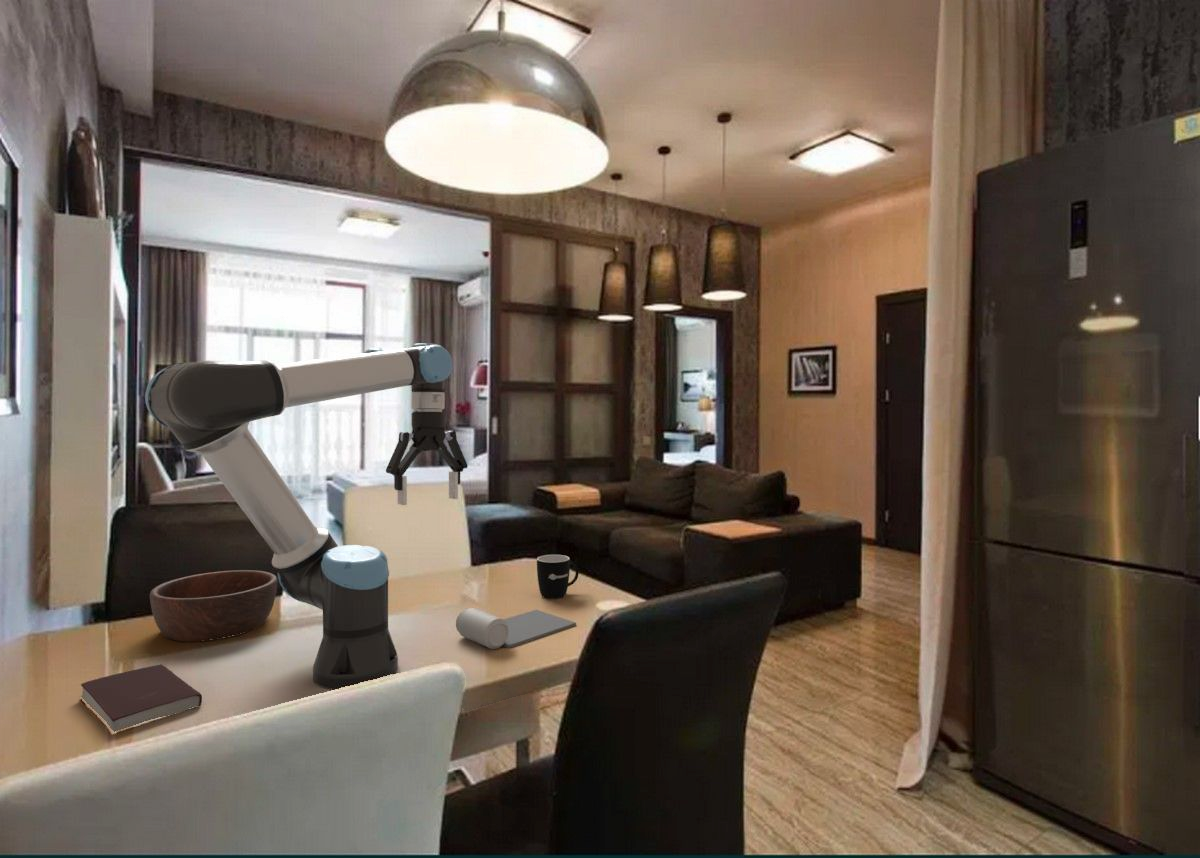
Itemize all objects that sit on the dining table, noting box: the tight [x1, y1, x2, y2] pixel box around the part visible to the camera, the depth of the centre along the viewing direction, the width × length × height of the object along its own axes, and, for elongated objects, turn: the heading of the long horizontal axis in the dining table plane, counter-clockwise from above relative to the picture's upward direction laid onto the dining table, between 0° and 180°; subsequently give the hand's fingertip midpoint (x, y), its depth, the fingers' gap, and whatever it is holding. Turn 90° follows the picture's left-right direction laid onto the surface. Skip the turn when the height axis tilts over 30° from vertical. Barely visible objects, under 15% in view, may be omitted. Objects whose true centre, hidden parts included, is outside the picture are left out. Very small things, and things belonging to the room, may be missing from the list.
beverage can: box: [455, 607, 509, 650], centre depth 137 cm, size 6×6×12 cm
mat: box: [501, 609, 577, 649], centre depth 146 cm, size 20×14×1 cm
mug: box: [536, 554, 580, 599], centre depth 173 cm, size 12×9×10 cm
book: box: [80, 663, 203, 732], centre depth 109 cm, size 12×19×3 cm, turn 51°
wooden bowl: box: [149, 569, 278, 642], centre depth 146 cm, size 25×25×10 cm
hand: (428, 501), depth 149 cm, fingers open, 13 cm apart
